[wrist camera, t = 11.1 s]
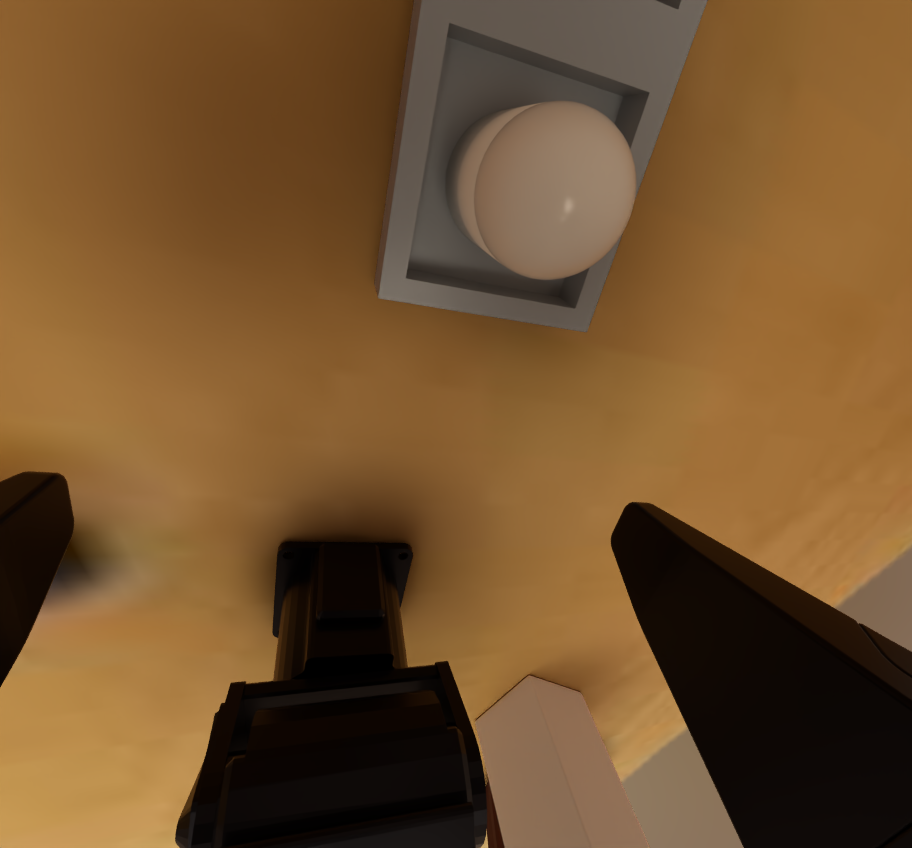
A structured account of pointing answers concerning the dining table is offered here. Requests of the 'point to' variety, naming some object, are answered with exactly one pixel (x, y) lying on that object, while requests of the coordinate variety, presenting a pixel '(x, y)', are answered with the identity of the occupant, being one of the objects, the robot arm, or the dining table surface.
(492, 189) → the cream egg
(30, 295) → the dining table surface
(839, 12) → the dining table surface
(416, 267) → the grey flat rectangular tray
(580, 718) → the milk
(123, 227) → the dining table surface
